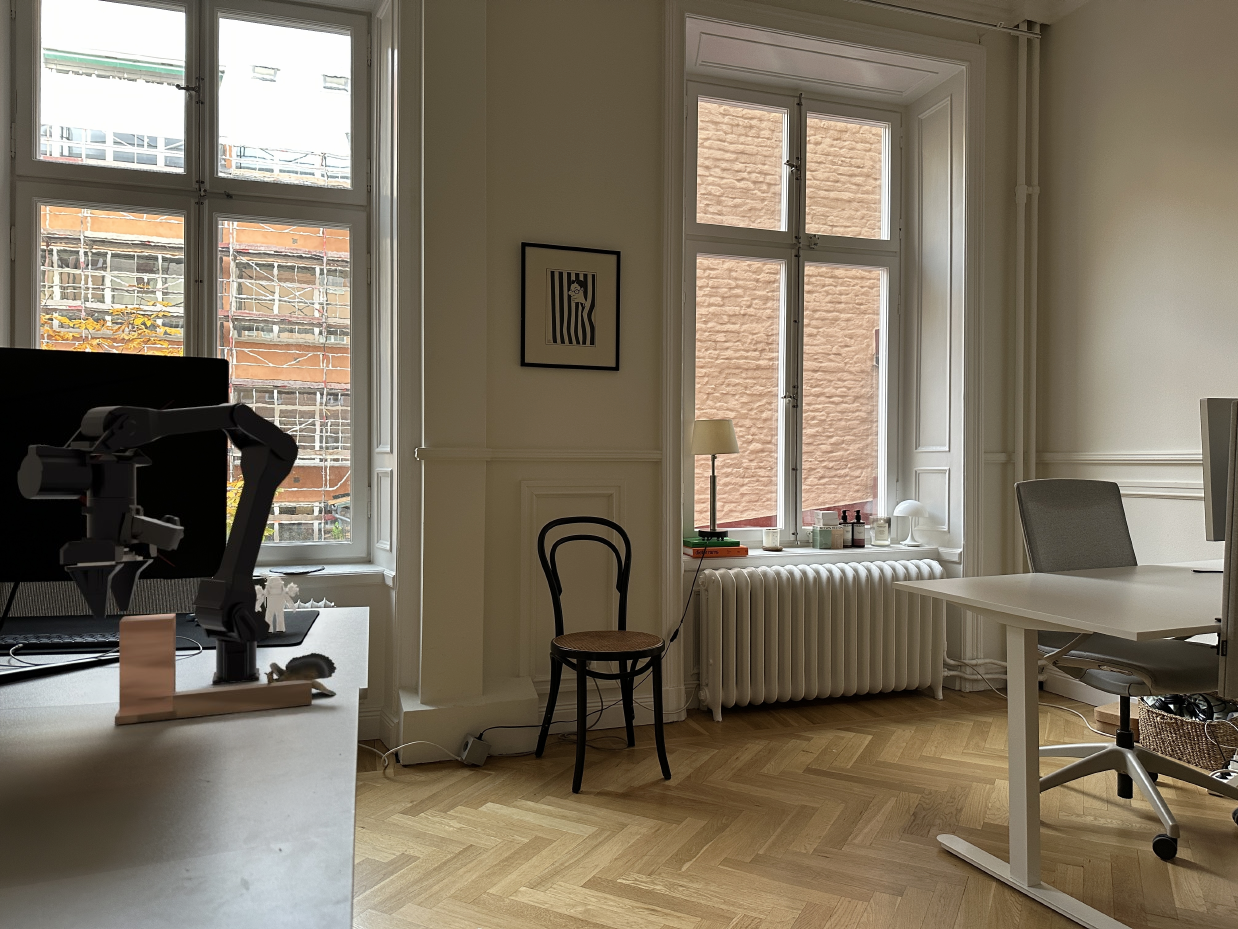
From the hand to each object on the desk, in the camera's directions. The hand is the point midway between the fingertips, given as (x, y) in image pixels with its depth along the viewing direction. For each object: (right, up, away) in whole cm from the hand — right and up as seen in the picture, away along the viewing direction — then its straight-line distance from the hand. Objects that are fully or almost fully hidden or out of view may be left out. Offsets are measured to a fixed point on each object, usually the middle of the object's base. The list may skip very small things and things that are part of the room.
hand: (112, 614), depth 113 cm
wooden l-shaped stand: (+13, -13, +3) cm, 18 cm away
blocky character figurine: (-1, -13, +55) cm, 57 cm away
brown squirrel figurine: (+23, -13, +6) cm, 27 cm away
